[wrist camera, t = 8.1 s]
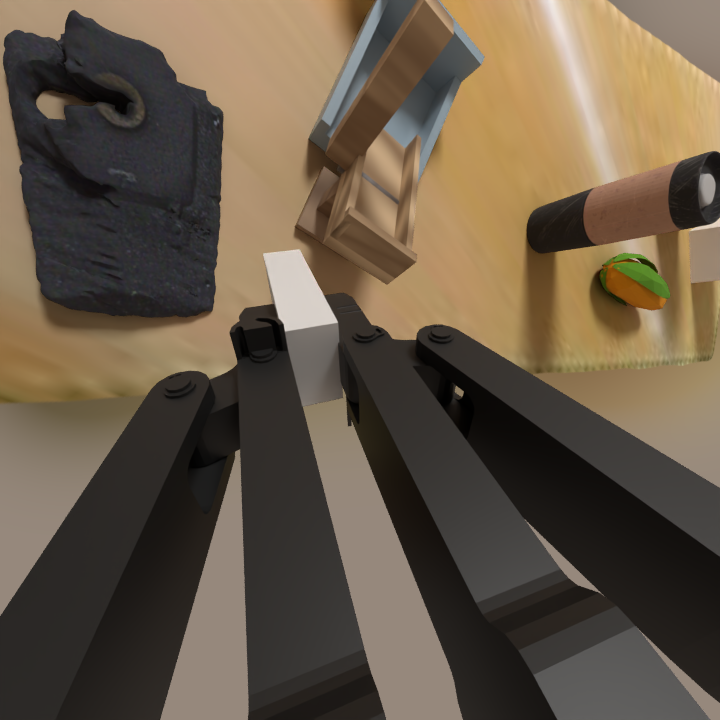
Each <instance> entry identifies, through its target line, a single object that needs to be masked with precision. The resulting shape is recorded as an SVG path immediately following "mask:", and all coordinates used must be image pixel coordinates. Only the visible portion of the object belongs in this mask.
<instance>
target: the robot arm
mask: <svg viewBox="0 0 720 720" xmlns="http://www.w3.org/2000/svg"><path fill="white" fill-rule="evenodd" d="M263 255H264V261H265V266H266V272H267V277H268V282H269V288H270V293H271V298H272V304H270V305H263V306H256V307H250V308H245V309H244V310H243V312H242V313H241V314H240V316H239V320H240V321H239V322H237V323H236V324H235V325H234V326H233V327H232V328H231V330H230V336H231V340H232V343H233V347H234V350H235V354H236V357H237V365H236V366H235V367H234V368H233V369H231V370H230V371H228V372H227V373H224V374H222V375H220V376H218V377H215V378H213V379H210V380H209V378H208V377H207V375H206V374H204V373H202V372H199V371H185V372H179V373H175V374H172V375H170V376H168V377H166V378H164V379H163V380H161V381H159V382H158V383H157V384H156V385H155V386H154V387H153V388H152V389H151V390H150V392H149V393H148V395H147V396H146V398H145V399H144V401H143V402H142V404H141V405H140V407H139V408H138V410H137V411H136V413H135V415H134V416H133V417H132V419H131V421H130V422H129V424H128V425H127V427H126V428H125V430H124V431H123V433H122V434H121V436H120V437H119V439H118V440H117V442H116V443H115V445H114V446H113V448H112V449H111V451H110V452H109V454H108V455H107V457H106V458H105V460H104V461H103V463H102V464H101V466H100V467H99V469H98V470H97V472H96V473H95V475H94V476H93V478H92V479H91V481H90V482H89V484H88V485H87V487H86V488H85V490H84V491H83V493H82V494H81V496H80V497H79V499H78V500H77V502H76V503H75V505H74V506H73V508H72V509H71V511H70V512H69V514H68V515H67V517H66V518H65V520H64V521H63V523H62V524H61V526H60V527H59V529H58V530H57V532H56V533H55V535H54V536H53V538H52V539H51V541H50V542H49V544H48V545H47V547H46V548H45V550H44V551H43V553H42V554H41V556H40V557H39V559H38V560H37V562H36V563H35V565H34V566H33V568H32V569H31V571H30V572H29V574H28V576H27V577H26V578H25V580H24V582H23V583H22V584H21V586H20V587H19V589H18V590H17V592H16V593H15V595H14V596H13V598H12V599H11V601H10V602H9V604H8V606H7V607H6V608H5V610H4V611H3V613H2V614H1V616H0V720H160V718H161V714H162V711H163V707H164V704H165V700H166V697H167V694H168V690H169V687H170V683H171V680H172V676H173V672H174V669H175V665H176V662H177V659H178V655H179V652H180V648H181V645H182V641H183V637H184V634H185V631H186V627H187V623H188V620H189V617H190V613H191V610H192V606H193V603H194V599H195V596H196V592H197V589H198V585H199V582H200V578H201V575H202V571H203V568H204V564H205V561H206V557H207V554H208V550H209V547H210V543H211V540H212V536H213V533H214V529H215V526H216V522H217V519H218V515H219V512H220V508H221V505H222V501H223V498H224V494H225V491H226V487H227V484H228V480H229V477H230V473H231V470H232V466H233V463H234V459H235V451H237V450H239V449H240V457H241V483H242V484H241V486H242V516H243V544H244V545H243V546H244V575H245V605H246V635H247V662H248V663H247V664H248V694H249V715H248V720H386V717H385V713H384V710H383V707H382V703H381V700H380V697H379V693H378V690H377V688H376V685H375V682H374V680H373V677H372V674H371V671H370V668H369V664H368V661H367V657H366V653H365V650H364V646H363V642H362V638H361V634H360V630H359V626H358V622H357V618H356V614H355V611H354V606H353V603H352V599H351V595H350V591H349V587H348V583H347V579H346V575H345V571H344V567H343V563H342V560H341V556H340V552H339V548H338V544H337V540H336V536H335V533H334V528H333V524H332V520H331V516H330V513H329V509H328V505H327V501H326V497H325V493H324V489H323V485H322V481H321V478H320V474H319V470H318V466H317V461H316V458H315V454H314V450H313V446H312V442H311V438H310V434H309V430H308V427H307V422H306V418H305V414H304V411H303V407H304V406H308V405H313V404H317V403H321V402H326V401H331V400H335V399H340V398H343V392H342V386H343V389H344V391H345V394H346V402H347V420H348V426H351V420H352V422H353V425H354V427H355V430H356V432H357V435H358V437H359V440H360V442H361V445H362V447H363V450H364V452H365V455H366V457H367V460H368V462H369V465H370V467H371V470H372V472H373V475H374V478H375V480H376V482H377V485H378V488H379V490H380V492H381V495H382V498H383V500H384V503H385V505H386V508H387V510H388V513H389V515H390V518H391V520H392V523H393V525H394V528H395V530H396V533H397V535H398V538H399V540H400V543H401V545H402V548H403V550H404V553H405V555H406V558H407V560H408V563H409V565H410V568H411V570H412V573H413V575H414V578H415V581H416V582H417V586H418V588H419V591H420V593H421V595H422V598H423V600H424V603H425V606H426V608H427V610H428V613H429V616H430V618H431V621H432V623H433V626H434V628H435V631H436V633H437V636H438V638H439V641H440V643H441V646H442V648H443V651H444V653H445V656H446V658H447V661H448V663H449V666H450V669H451V672H452V675H453V679H454V682H455V688H456V693H457V699H458V704H459V707H460V711H461V714H462V718H463V720H710V719H709V718H708V716H707V715H706V714H705V713H704V711H703V710H702V709H701V708H700V706H699V705H698V704H697V702H696V701H695V700H694V699H693V697H692V696H691V695H690V694H689V692H688V691H687V690H686V689H685V688H684V686H683V685H682V684H681V682H680V681H679V680H678V679H677V677H676V676H675V675H674V674H673V672H672V671H671V670H670V669H669V667H668V666H667V665H666V664H665V662H664V661H663V660H662V659H661V657H660V656H659V655H658V653H657V652H656V651H655V650H654V649H653V647H652V646H651V645H650V643H649V642H648V641H647V640H646V638H645V637H644V636H643V635H642V633H643V634H644V635H645V636H647V637H648V638H649V639H650V640H651V641H652V642H653V643H654V644H655V645H656V646H657V647H658V648H659V649H660V650H661V651H662V652H663V653H664V654H665V655H666V656H667V657H668V658H669V659H670V660H672V661H673V662H674V663H675V664H676V665H677V666H678V667H679V668H680V669H682V670H683V671H684V672H685V673H686V674H687V675H688V676H689V677H691V679H692V680H694V681H695V682H696V683H697V684H698V685H699V686H700V687H701V688H702V689H703V690H705V691H706V692H707V693H708V694H710V695H711V696H712V697H713V698H715V699H716V700H717V701H718V702H719V703H720V488H719V487H717V486H716V485H714V484H712V483H710V482H709V481H707V480H706V479H704V478H702V477H701V476H699V475H697V474H696V473H694V472H693V471H691V470H689V469H687V468H686V467H684V466H683V465H681V464H679V463H678V462H676V461H674V460H673V459H671V458H669V457H667V456H666V455H664V454H663V453H661V452H659V451H658V450H656V449H654V448H653V447H651V446H649V445H648V444H646V443H644V442H643V441H641V440H640V439H638V438H636V437H635V436H633V435H631V434H630V433H628V432H626V431H625V430H623V429H621V428H620V427H618V426H616V425H614V424H613V423H611V422H610V421H608V420H606V419H604V418H603V417H601V416H600V415H598V414H596V413H595V412H593V411H591V410H590V409H588V408H586V407H585V406H583V405H581V404H580V403H578V402H576V401H575V400H573V399H572V398H570V397H568V396H567V395H565V394H563V393H562V392H560V391H558V390H557V389H555V388H553V387H552V386H550V385H548V384H546V383H545V382H543V381H542V380H540V379H538V378H537V377H535V376H533V375H532V374H530V373H528V372H527V371H525V370H523V369H522V368H520V367H519V366H517V365H515V364H514V363H512V362H510V361H509V360H507V359H505V358H504V357H502V356H500V355H499V354H497V353H495V352H494V351H492V350H490V349H489V348H487V347H485V346H484V345H482V344H480V343H479V342H477V341H475V340H474V339H472V338H470V337H469V336H467V335H465V334H464V333H462V332H461V331H459V330H457V329H455V328H452V327H450V326H445V325H439V324H438V325H437V324H436V325H430V326H425V327H423V328H422V329H420V330H419V331H418V333H417V338H416V340H395V339H392V338H391V336H390V335H389V334H388V332H387V331H385V330H384V329H383V328H381V327H378V326H374V325H371V323H370V322H369V321H368V319H367V318H366V316H365V315H364V313H363V312H362V311H361V309H360V307H359V306H358V305H357V303H356V302H355V300H354V299H353V297H351V296H349V295H347V294H345V293H337V294H330V295H323V293H322V291H321V289H320V287H319V285H318V284H317V282H316V280H315V278H314V276H313V274H312V272H311V270H310V268H309V267H308V265H307V263H306V261H305V259H304V257H303V255H302V253H301V251H300V250H290V251H281V252H272V253H264V254H263ZM456 386H458V387H459V388H460V389H462V390H463V391H464V394H463V397H461V396H459V395H458V394H456V393H455V387H456ZM524 519H525V520H526V521H527V522H529V524H530V525H531V526H532V527H534V529H536V530H537V531H538V532H539V533H540V534H541V535H542V536H543V537H544V538H545V539H546V540H547V541H548V542H549V543H550V544H551V545H552V546H553V547H554V548H555V549H556V550H557V551H558V552H559V553H560V554H562V556H563V557H565V558H566V559H567V560H568V561H569V562H570V563H571V564H572V565H573V566H574V567H575V568H576V569H577V570H578V571H579V572H580V573H581V574H582V575H583V576H584V577H585V578H586V579H587V580H588V581H590V583H592V584H593V585H594V586H595V587H596V588H597V589H598V590H599V591H600V592H601V593H602V594H603V595H604V596H605V597H604V596H603V595H602V594H600V593H598V592H595V591H593V590H589V589H587V588H584V587H581V586H578V585H577V584H575V583H574V582H573V581H571V580H570V579H569V578H568V577H567V576H566V575H565V574H564V573H563V571H562V570H561V569H560V568H559V566H558V565H557V564H556V562H555V561H554V559H553V558H552V557H551V555H550V554H549V553H548V551H547V550H546V548H545V547H544V546H543V544H542V543H541V542H540V540H539V539H538V538H537V536H536V535H535V533H534V532H533V531H532V529H531V528H530V527H529V525H528V524H527V522H526V521H525V520H524ZM638 629H639V630H640V631H641V632H642V633H641V632H640V631H639V630H638Z"/></svg>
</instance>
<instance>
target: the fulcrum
mask: <svg viewBox="0 0 720 720" xmlns="http://www.w3.org/2000/svg"><path fill="white" fill-rule="evenodd" d="M340 178H341V177H340ZM340 178H339V177H338V176H336V175H335V174H334V173H332V172H331V171H330V170H329V169H327V168H326V167H325V166H324V167H323V168H322V169H321V171H320V173H319V175H318V177H317V180H316V182H315V184H314V186H313V188H312V190H311V193H310V195H309V197H308V199H307V201H306V203H305V206H304V208H303V210H302V212H301V214H300V217H299V219H298V221H297V223H296V225H295V227H297V228H298V229H300V230H302V231H303V232H305V233H306V234H308V235H309V236H311V237H313V238H314V239H316V240H317V241H319V242H321V243H322V244H323V241H324V237H325V233H326V230H327V226H328V222H329V219H330V215H331V211H332V208H333V204H334V200H335V196H336V193H337V189H338V185H339V182H340ZM328 248H329V247H328ZM339 255H340V254H339Z"/></svg>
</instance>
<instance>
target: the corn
mask: <svg viewBox="0 0 720 720" xmlns="http://www.w3.org/2000/svg"><path fill="white" fill-rule="evenodd" d="M629 258H636V259H638V260H639V261H640V262H641V263H642V264H641V263H639V262H638V261H635V260H632V259H629ZM602 266H603V270H602V271H600V276H599V277H600V280H601V283H602V286H603V288H604V289H605V290H606V291H607V292H608V293H609V294H610V295H611V296H613V297H614V298H615V299H616V300H617V301H619V302H620V303H622V304H624V305H626V303H625V301H626V302H628V303H629V304H631V305H633V306H634V307H638V308H643V309H648V310H657V309H661V308H663V306H664V304H665V302H666V301H667V300H666V299H668V298H669V297H670V292H669V288H668V286H667V283H666V282H665V281H664V280H663V279H662V277H661V276H660V275H658V274H657V273H658V271H657V269H656V267H655V265H654V264H653V263H652V262H650V261H649V260H648V259H647V258H645V257H644V256H642V255H640V254H629V253H623V254H620V255H618V256H616V257H613V258H611V259H610V260H608V261H607V262H606V263H605V264H603V265H602ZM626 306H627V305H626Z"/></svg>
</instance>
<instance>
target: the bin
mask: <svg viewBox="0 0 720 720" xmlns="http://www.w3.org/2000/svg"><path fill="white" fill-rule="evenodd" d="M416 1H417V0H375V1H374V3H373V4H372V6H371V8H370V10H369V11H368V13H367V15H366V17H365V19H364V21H363V23H362V25H361V28H360V30H359V32H358V34H357V36H356V38H355V40H354V43H353V45H352V47H351V49H350V51H349V53H348V55H347V57H346V60H345V62H344V64H343V66H342V68H341V70H340V72H339V75H338V77H337V79H336V81H335V83H334V85H333V87H332V89H331V92H330V94H329V96H328V98H327V100H326V102H325V104H324V107H323V109H322V111H321V113H320V115H319V117H318V119H317V121H316V124H315V126H314V128H313V130H312V132H311V134H310V136H309V139H310V140H311V141H312V142H314V143H315V144H316V145H317V146H319V147H320V148H321V149H322V150H324V151H325V152H326V150H327V147H328V143H329V140H330V138H331V136H332V135H333V133H334V131H335V130H336V128H337V127H338V125H339V124H340V122H341V120H342V119H343V117H344V116H345V114H346V112H347V111H348V109H349V108H350V106H351V104H352V103H353V101H354V100H355V98H356V97H357V95H358V93H359V92H360V90H361V89H362V87H363V85H364V84H365V82H366V81H367V79H368V77H369V76H370V74H371V73H372V71H373V70H374V68H375V66H376V65H377V63H378V62H379V60H380V58H381V57H382V55H383V54H384V52H385V51H386V49H387V47H388V46H389V44H390V43H391V41H392V39H393V38H394V36H395V35H396V33H397V31H398V30H399V28H400V27H401V25H402V24H403V22H404V20H405V19H406V17H407V16H408V14H409V12H410V11H411V9H412V8H413V6H414V4H415V3H416ZM438 1H439V3H440V4H441V5H442V6H443V8H444V9H445V10H446V11H447V9H446V8H445V7H444V5H443V4H442V3H441V2H440V0H438ZM447 13H448V14H449V15H450V16H451V14H450V13H449V12H448V11H447ZM451 18H452V19H453V20H454V35H453V37H452V38H451V39H450V41H449V42H448V43H447V45H446V46H445V47H444V49H443V50H442V51H441V53H440V54H439V55H438V57H437V58H436V59H435V61H434V62H433V63H432V65H431V66H430V67H429V69H428V70H427V71H426V73H425V74H424V75H423V77H422V78H421V79H420V81H419V82H418V83H417V85H416V86H415V87H414V89H413V90H412V91H411V92H410V94H409V95H408V96H407V98H406V99H405V100H404V102H403V103H402V104H401V106H400V107H399V108H398V110H397V111H396V112H395V114H394V115H393V116H392V118H391V119H390V120H389V122H388V123H387V124H386V126H385V127H384V128H383V129H384V130H385V131H386V132H387V133H389V134H390V135H391V136H392V137H393V138H394V139H395V140H396V141H397V142H399V143H400V144H401V145H402V146H403V147H404V148H406V147H407V145H408V144H409V143H410V142H411V141H412V140H413V138H414V137H415V136H416V135H419V136H420V137H421V149H420V161H419V173H418V182H419V179H420V177H421V175H422V172H423V170H424V168H425V165H426V163H427V161H428V158H429V156H430V154H431V151H432V149H433V147H434V144H435V142H436V140H437V137H438V135H439V133H440V130H441V128H442V126H443V123H444V121H445V119H446V117H447V114H448V112H449V110H450V107H451V105H452V103H453V100H454V98H455V96H456V93H457V91H458V89H459V86H460V84H461V82H462V81H463V80H464V79H465V78H467V77H468V76H469V75H470V74H471V73H472V72H473V71H475V70H476V69H477V68H478V67H479V66H480V65H481V64H482V62H483V60H484V56H483V54H482V53H481V52H480V51H479V49H478V48H477V47H476V46H475V44H474V43H473V42H472V41H471V39H470V38H469V37H468V36H467V34H466V33H465V32H464V31H463V29H462V28H461V27H460V26H459V24H458V23H457V22H456V21H455V19H454V18H453V17H452V16H451Z"/></svg>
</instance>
